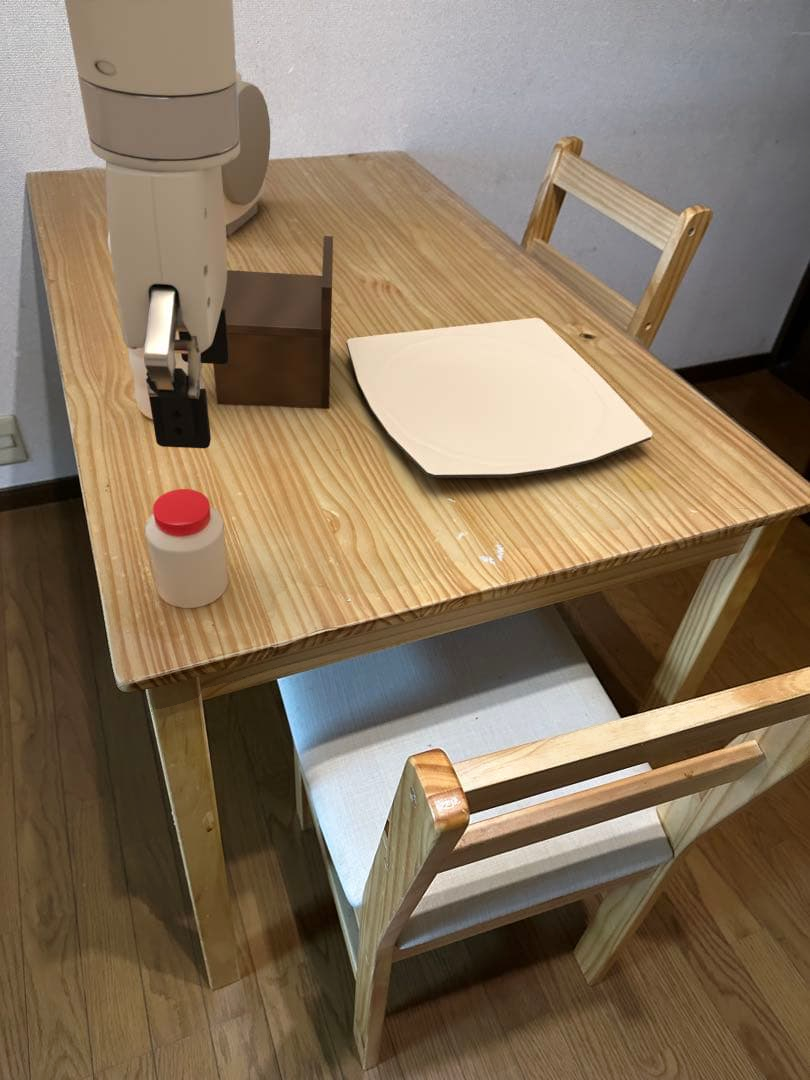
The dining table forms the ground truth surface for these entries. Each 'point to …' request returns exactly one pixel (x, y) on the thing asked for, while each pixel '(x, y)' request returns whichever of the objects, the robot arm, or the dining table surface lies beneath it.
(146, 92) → the robot arm
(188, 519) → the pill bottle
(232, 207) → the alarm clock
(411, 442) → the plate
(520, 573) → the dining table surface
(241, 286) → the wooden block chair
